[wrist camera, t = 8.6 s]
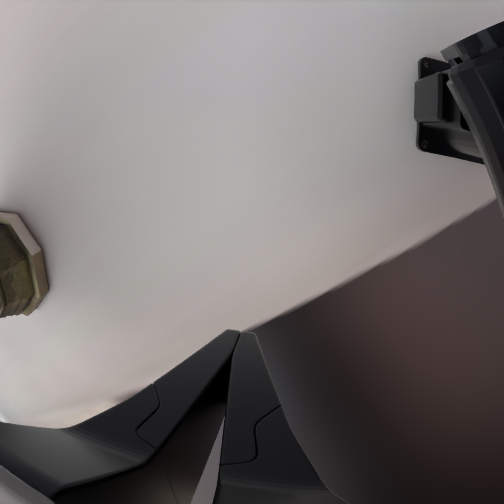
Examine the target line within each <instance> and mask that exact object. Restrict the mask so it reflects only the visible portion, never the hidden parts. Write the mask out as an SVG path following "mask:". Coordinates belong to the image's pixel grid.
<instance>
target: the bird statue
mask: <svg viewBox="0 0 504 504" xmlns="http://www.w3.org/2000/svg"><path fill="white" fill-rule="evenodd" d="M48 290H49V288H48V283H47V278H46V272H45V267H44V261H43V255H42V250H41V248H40V247H39V245H38V244H37V243H36V241H35V240H34V238H33V237H32V235H31V234H30V232H29V231H28V229H27V228H26V226H25V225H24V223H23V222H22V220H21V219H20V217H19V216H18V214H13V213H6V212H0V318H3V317H6V316H12V315H19V314H21V313H22V314H24V315H26V316H28V315H29V314H30V313H32V312H33V311H34V310H35V309H36V308H37V307H38V305H39V304H40V302H41V301H42V299H43V298H44V296H45V295H46V293H47V292H48Z"/></svg>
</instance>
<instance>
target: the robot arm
mask: <svg viewBox="0 0 504 504" xmlns="http://www.w3.org/2000/svg"><path fill="white" fill-rule="evenodd" d="M441 54H442V55H443V57H444V58H445V60H446V61H447V60H448V62H449V63H446V62H442V61H439V60H435V59H431V58H427V57H424V58H422V59H420V60H419V62H418V81H416V82H415V103H414V118H415V120H416V121H417V136H416V146H417V148H418V149H419V150H420V151H423V152H429V153H434V154H439V155H444V156H449V157H454V158H458V159H463V160H467V161H472V162H476V163H480V164H484V165H485V166H486V168H487V171H488V174H489V176H490V179H491V182H492V185H493V187H494V190H495V193H496V196H497V199H498V202H499V205H500V208H501V212H502V215H503V217H504V21H503V22H500V23H498V24H496V25H493V26H491V27H489V28H486V29H484V30H482V31H480V32H477V33H475V34H473V35H471V36H469V37H467V38H465V39H463V40H461V41H459V42H457V43H455V44H453V45H451V46H449V47H447V48H446V49H444V50H442V51H441ZM424 62H426V63H427V64H428V68H426V67H425V66H424ZM423 140H424V141H425V142H426V146H425V147H424V148H423V147H422V144H421V143H422V141H423ZM224 417H225V420H224V429H223V437H222V446H221V456H220V464H219V473H218V481H217V487H216V491H215V496H214V499H213V503H212V504H349V503H348V502H346V501H344V500H342V499H341V498H339V497H338V496H336V495H335V494H333V493H332V492H331V491H330V490H329V489H328V488H327V486H326V485H325V484H324V483H323V481H322V480H321V478H320V477H319V475H318V474H317V472H316V470H315V469H314V467H313V465H312V464H311V462H310V461H309V459H308V457H307V456H306V454H305V453H304V451H303V449H302V447H301V446H300V444H299V442H298V440H297V438H296V437H295V435H294V433H293V431H292V429H291V427H290V424H289V422H288V420H287V418H286V415H285V412H284V410H283V408H282V405H281V402H280V400H279V397H278V394H277V392H276V389H275V386H274V383H273V381H272V378H271V375H270V373H269V370H268V367H267V365H266V362H265V359H264V356H263V353H262V351H261V348H260V345H259V342H258V340H257V337H256V335H255V333H251V332H240V331H237V330H230V329H228V330H226V331H224V332H223V333H221V334H220V335H219V336H217V337H216V338H215V339H213V340H212V341H211V342H209V343H208V344H207V345H205V346H204V347H202V348H201V349H200V350H198V351H197V352H196V353H194V354H193V355H191V356H190V357H189V358H187V359H186V360H184V361H183V362H182V363H180V364H179V365H177V366H176V367H175V368H173V369H172V370H170V371H169V372H167V373H166V374H165V375H163V376H162V377H160V378H159V379H157V380H156V381H155V382H154V384H153V383H152V384H150V385H149V386H147V387H146V388H144V389H143V390H141V391H140V392H138V393H137V394H135V395H133V396H132V397H130V398H129V399H127V400H125V401H123V402H121V403H119V404H118V405H116V406H114V407H112V408H110V409H108V410H106V411H104V412H102V413H100V414H98V415H96V416H94V417H92V418H90V419H88V420H86V421H84V422H82V423H79V424H77V425H74V426H71V427H67V428H60V429H53V428H42V427H33V426H25V425H17V424H11V423H4V422H0V504H190V503H191V501H192V499H193V496H194V494H195V491H196V489H197V486H198V483H199V481H200V479H201V476H202V474H203V471H204V469H205V466H206V464H207V461H208V458H209V456H210V453H211V450H212V448H213V445H214V443H215V440H216V438H217V435H218V432H219V430H220V427H221V425H222V422H223V419H224Z"/></svg>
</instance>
